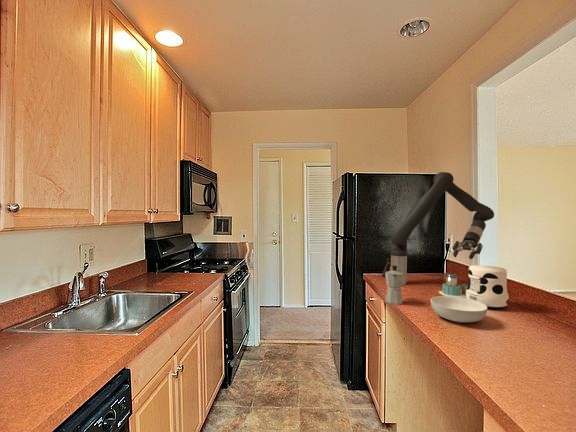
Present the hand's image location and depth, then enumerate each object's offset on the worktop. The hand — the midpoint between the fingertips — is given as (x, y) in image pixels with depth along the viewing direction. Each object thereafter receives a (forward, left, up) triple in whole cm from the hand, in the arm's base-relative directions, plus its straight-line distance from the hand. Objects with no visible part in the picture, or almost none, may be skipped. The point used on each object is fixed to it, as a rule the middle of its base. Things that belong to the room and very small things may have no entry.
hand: (462, 257), depth 174 cm
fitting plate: (-4, -6, -20) cm, 21 cm away
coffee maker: (-43, -19, -20) cm, 51 cm away
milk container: (0, -23, -20) cm, 30 cm away
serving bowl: (-24, -43, -20) cm, 53 cm away
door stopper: (-28, +41, -20) cm, 53 cm away
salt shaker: (-8, -6, -19) cm, 21 cm away
